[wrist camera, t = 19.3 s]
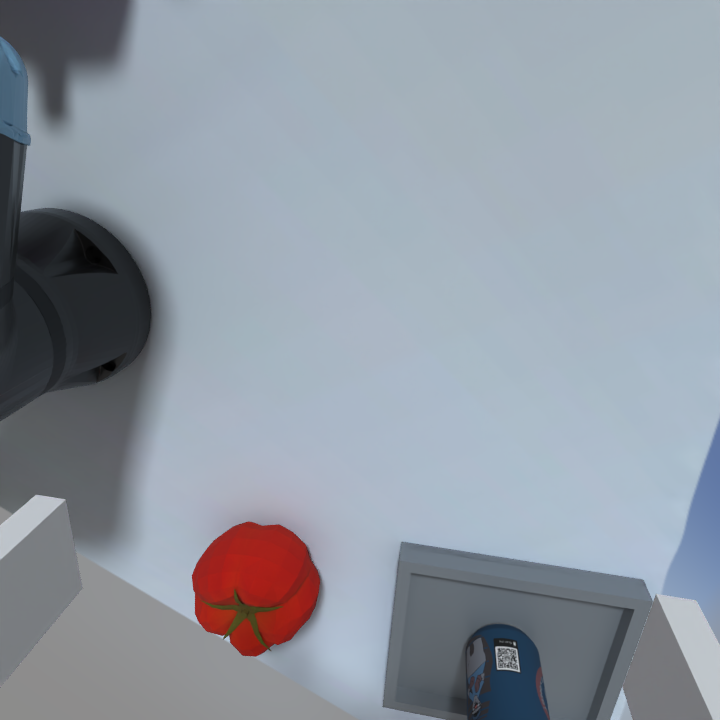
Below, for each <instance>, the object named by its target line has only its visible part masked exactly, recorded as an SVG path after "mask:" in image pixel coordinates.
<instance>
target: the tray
mask: <svg viewBox="0 0 720 720" xmlns="http://www.w3.org/2000/svg"><path fill="white" fill-rule="evenodd" d="M652 603H653V601H652V598H651V596H650V594H649V592H648V589H647V587H646V585H645V582H644V580H641V579H635V578H628V577H622V576H616V575H609V574H603V573H597V572H590V571H584V570H578V569H571V568H565V567H559V566H552V565H546V564H540V563H533V562H527V561H521V560H514V559H508V558H502V557H495V556H489V555H482V554H476V553H470V552H463V551H457V550H451V549H444V548H438V547H432V546H425V545H419V544H413V543H406V542H401V550H400V558H399V566H398V575H397V584H396V593H395V602H394V611H393V620H392V629H391V637H390V646H389V655H388V664H387V673H386V682H385V691H384V700H383V707H385V708H390V709H396V710H401V711H406V712H411V713H416V714H421V715H426V716H431V717H436V718H441V719H446V720H467V691H466V656H465V651H466V646H467V644H468V642H469V640H470V638H471V637H472V636H473V635H474V633H475V632H476V631H477V630H478V629H479V628H480V627H482V626H484V625H486V624H490V623H507V624H511V625H514V626H516V627H518V628H519V629H521V630H522V631H523V632H524V633H525V634H526V635H527V636H528V637H529V638H530V639H531V640H532V641H533V642H534V644H535V645H536V647H537V649H538V652H539V656H540V662H541V668H542V674H543V680H544V686H545V692H546V698H547V704H548V710H549V716H550V720H610V718H611V715H612V713H613V710H614V707H615V704H616V702H617V699H618V696H619V693H620V691H621V688H622V685H623V682H624V680H625V677H626V674H627V672H628V669H629V666H630V663H631V661H632V658H633V655H634V652H635V650H636V647H637V644H638V641H639V639H640V636H641V633H642V630H643V628H644V625H645V622H646V619H647V617H648V614H649V611H650V608H651V606H652Z"/></svg>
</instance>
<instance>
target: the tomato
mask: <svg viewBox="0 0 720 720" xmlns="http://www.w3.org/2000/svg"><path fill="white" fill-rule="evenodd" d="M192 581H193V590H194V592H195V615H196V617H197V619H198V622H199V623H200V624H201V625H202V626H203V628H204V629H205V630H206V631H207V632H211V633H214V634H218V635H222V636H223V635H225V636H224V638H223V639H225V638H226V637H227V636H228V635H229V636H230V643H231V644H232V645H233V646H234V647H235V648H236V649H237V650H238V651H239V652H240V653H241V654H242V655H243V656H258V655H260V654H262V653H264V652H265V651H266V650H267V649H269V648H270V647H271V646H272V645H274V644H277V645H279V644H282V643H284V642H286V641H289V640H291V639H292V637H293V636H294V635H295V634H296V632H297V631H298V630H299V629H300V628H301V627H302V626H303V625H304V623H305V622H306V621H307V620H308V619H309V618H310V616H311V614H312V612H313V610H314V608H315V606H316V601H317V597H318V593H319V585H320V579H319V575H318V571H317V569H316V568H315V566H314V564H313V563H312V561H311V560H310V557H309V554H308V550H307V547H306V545H305V544H304V543H303V542H302V541H301V540H300V539H299V538H298V537H297V536H296V535H295V534H294V533H293V532H292V531H290V530H288V529H286V528H285V527H283V526H281V525H267V526H261V525H259V524H256V523H253V522H246V523H242V524H239V525H236V526H234V527H232V528H231V529H229V530H228V531H226V532H225V533H224V534H222V535H221V536H220V537H218V538H217V539H215V540H214V541H213V542H212V543H211V545H210V546H209V547H208V548H207V550H206V551H205V552H204V554H203V555H202V557H201V558H200V559H199V561H198V562H197V564H196V567H195V569H194V572H193V574H192ZM269 650H270V649H269ZM270 651H271V650H270Z"/></svg>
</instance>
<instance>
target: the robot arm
mask: <svg viewBox="0 0 720 720" xmlns="http://www.w3.org/2000/svg"><path fill="white" fill-rule="evenodd" d="M27 100H28V76H27V71H26V68H25V66H24V63H23V61H22V59H21V57H20V56H19V54H18V53H17V52H16V50H15V49H14V48H13V47H12V46H11V45H10V44H9V43H8V42H7V41H6V40H5V39H3V38H2V37H1V36H0V421H1V420H3V419H4V418H6V417H8V416H9V415H11V414H12V413H14V412H15V411H17V410H19V409H20V408H22V407H23V406H25V405H26V404H28V403H30V402H31V401H33V400H34V399H36V398H37V397H39V396H41V395H42V394H44V393H46V392H52V391H57V390H63V389H69V388H75V387H80V386H86V385H91V384H95V383H98V382H101V381H103V380H105V379H107V378H109V377H111V376H113V375H114V374H116V373H117V372H119V371H120V370H122V369H123V368H125V367H126V366H127V365H129V364H130V363H131V362H132V361H133V360H134V359H135V358H136V357H137V356H138V354H139V353H140V351H141V350H142V348H143V346H144V344H145V342H146V339H147V336H148V333H149V328H150V319H151V311H150V301H149V296H148V292H147V288H146V285H145V282H144V279H143V277H142V275H141V273H140V271H139V269H138V267H137V265H136V263H135V262H134V260H133V258H132V257H131V255H130V254H129V253H128V251H127V250H126V249H125V248H124V247H123V245H122V244H121V243H120V242H119V241H118V240H117V239H116V238H115V237H114V236H113V235H112V234H111V233H109V232H108V231H107V230H106V229H104V228H103V227H102V226H100V225H99V224H97V223H96V222H94V221H92V220H90V219H88V218H86V217H84V216H82V215H80V214H77V213H74V212H71V211H67V210H62V209H55V208H43V209H35V210H29V211H23V212H21V201H22V191H23V181H24V170H25V160H26V149H27V145H28V146H30V143H31V138H30V135H29V134H28V133H27ZM81 590H82V582H81V577H80V572H79V566H78V561H77V556H76V550H75V545H74V540H73V534H72V529H71V524H70V519H69V513H68V508H67V503H66V499H60V498H54V497H48V496H41V495H35V496H34V497H33V498H32V499H30V500H29V501H28V502H27V503H26V504H25V505H23V506H22V507H21V508H20V509H19V510H17V511H16V512H15V513H14V514H13V515H12V516H10V517H9V518H8V519H7V520H6V521H4V522H3V523H2V524H1V525H0V687H1V686H2V685H3V684H4V682H5V681H6V680H7V679H8V678H9V676H10V675H11V674H12V673H13V672H14V670H15V669H16V668H17V667H18V666H19V664H20V663H21V662H22V661H23V659H24V658H25V657H26V656H27V655H28V653H29V652H30V651H31V650H32V649H33V647H34V646H35V645H36V644H37V643H38V641H39V640H40V639H41V638H42V637H43V635H44V634H45V633H46V632H47V630H48V629H49V628H50V627H51V626H52V624H53V623H54V622H55V621H56V620H57V619H58V617H59V616H60V615H61V614H62V613H63V611H64V610H65V609H66V608H67V606H68V605H69V604H70V603H71V602H72V600H73V599H74V598H75V597H76V596H77V594H78V593H79V592H80V591H81ZM622 687H623V690H624V693H625V696H626V699H627V703H628V706H629V709H630V712H631V715H632V718H633V720H720V644H719V643H718V641H717V639H716V637H715V635H714V633H713V631H712V629H711V628H710V626H709V624H708V622H707V620H706V618H705V616H704V615H703V613H702V611H701V609H700V607H699V605H698V603H697V601H696V600H690V599H683V598H677V597H671V596H665V595H658V594H656V596H655V599H654V601H653V604H652V607H651V610H650V612H649V615H648V618H647V621H646V623H645V626H644V629H643V632H642V634H641V637H640V640H639V643H638V645H637V648H636V651H635V654H634V656H633V659H632V662H631V664H630V667H629V670H628V673H627V675H626V678H625V681H624V684H623V686H622Z"/></svg>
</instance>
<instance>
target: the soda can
mask: <svg viewBox="0 0 720 720" xmlns="http://www.w3.org/2000/svg"><path fill="white" fill-rule="evenodd" d="M465 656H466V691H467V720H550V716H549V710H548V704H547V698H546V692H545V686H544V680H543V674H542V668H541V662H540V656H539V652H538V649H537V647H536V645H535V644H534V642H533V641H532V640H531V639H530V638H529V637H528V636H527V635H526V634H525V633H524V632H523V631H522V630H521V629H519V628H518V627H516V626H514V625H511V624H507V623H490V624H486V625H484V626H482V627H480V628H479V629H478V630H477V631H476V632H475V633H474V635H473V636H472V637H471V638H470V640H469V642H468V644H467V646H466V651H465Z"/></svg>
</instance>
